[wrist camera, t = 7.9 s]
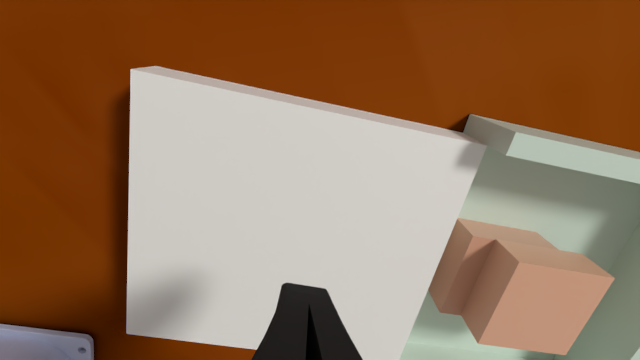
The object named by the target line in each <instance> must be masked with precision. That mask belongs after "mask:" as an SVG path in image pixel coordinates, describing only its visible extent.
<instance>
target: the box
mask: <svg viewBox="0 0 640 360" xmlns="http://www.w3.org/2000/svg"><path fill="white" fill-rule="evenodd" d="M463 133H464V134H466V135H468V136H470V137H472V138H474V139H476V140H478V141H480V142H481V143H483V144H485V145H487V147H486V150H485V152H484V155H483V157H482V160H481V162H480V165H479V167H478V169H477V172H476V174H475V177H474V179H473V182H472V184H471V186H470V189H469V191H468V194H467V196H466V199H465V201H464V203H463V206H462V208H461V211H460V213H459V216H458V218H462V219H467V220H473V221H478V222H484V223H489V224H495V225H500V226H506V227H511V228H517V229H522V230H528V231H533V232H537V233H538V234H539V235H541V236H542V237H543V238H544V239H546V240H547V241H548V242H550V243H551V244H552V245H553V246H555V247H556V248H557V249H558V250H563V251H568V252H574V253H580V254H583V255H584V256H586V257H587V258H588V259H590V260H591V261H593V262H594V263H595V264H597V265H598V266H599V267H601V268H602V269H603V270H605V271H606V272H607V273H609V274H610V275H612V276H613V277H614V278H615V279H614V281H613V282H612V284H611V285H610V287H609V288H608V290H607V292H606V293H605V295H604V296H603V298H602V299H601V301H600V302H599V304H598V306H597V307H596V309H595V310H594V312H593V313H592V315H591V317H590V318H589V320H588V321H587V323H586V324H585V326H584V327H583V329H582V331H581V332H580V334H579V335H578V337H577V338H576V340H575V341H574V343H573V345H572V346H571V348H570V349H569V351H568V352H567V354H566V355H559V354H551V353H544V352H536V351H529V350H521V349H513V348H506V347H498V346H491V345H483V344H478V343H477V341H476V340H475V338H474V336H473V335H472V333H471V331H470V330H469V328H468V326H467V325H466V323H465V321H464V319H463V318H462V316H460V315H453V314H447V313H440V312H439V310H438V308H437V306H436V304H435V302H434V300H433V299H432V297H431V295H430V293H429V291H427V293H426V296H425V298H424V301H423V303H422V306H421V308H420V310H419V313H418V315H417V318H416V320H415V323H414V325H413V327H412V330H411V332H410V335H409V337H408V340H407V342H406V344H405V347H404V349H403V352H402V354H401V357H400V359H399V360H640V152H637V151H632V150H628V149H623V148H619V147H614V146H610V145H606V144H601V143H597V142H592V141H588V140H583V139H579V138H575V137H570V136H566V135H561V134H557V133H552V132H548V131H544V130H539V129H535V128H530V127H526V126H521V125H517V124H512V123H508V122H504V121H499V120H495V119H490V118H486V117H481V116H477V115H473V114H470V115H469V118H468V120H467V123H466V126H465V128H464V131H463Z"/></svg>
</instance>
